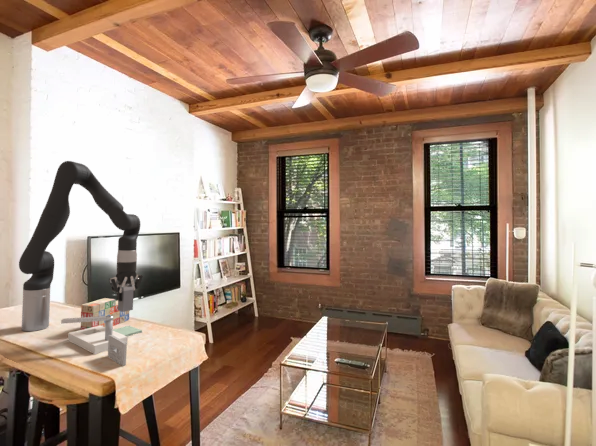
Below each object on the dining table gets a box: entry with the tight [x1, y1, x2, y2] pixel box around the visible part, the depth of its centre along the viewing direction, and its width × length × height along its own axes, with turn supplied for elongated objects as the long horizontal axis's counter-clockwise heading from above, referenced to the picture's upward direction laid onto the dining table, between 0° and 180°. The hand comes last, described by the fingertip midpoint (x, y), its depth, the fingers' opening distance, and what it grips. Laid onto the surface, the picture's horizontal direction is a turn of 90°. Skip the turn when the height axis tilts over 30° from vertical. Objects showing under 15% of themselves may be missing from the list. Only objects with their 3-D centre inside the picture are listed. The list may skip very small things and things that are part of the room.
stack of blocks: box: [80, 297, 131, 330], centre depth 145 cm, size 21×6×12 cm, turn 168°
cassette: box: [107, 335, 128, 367], centre depth 111 cm, size 12×2×8 cm, turn 53°
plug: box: [118, 284, 134, 312], centre depth 138 cm, size 4×4×10 cm
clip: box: [60, 315, 113, 325], centre depth 120 cm, size 16×3×1 cm, turn 112°
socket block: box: [67, 320, 129, 355], centre depth 126 cm, size 21×12×10 cm, turn 58°
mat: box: [113, 325, 143, 337], centre depth 138 cm, size 10×10×1 cm
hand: (125, 299), depth 138 cm, fingers closed on plug, 4 cm apart
